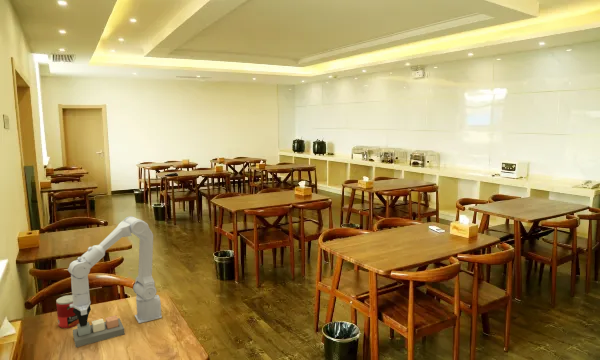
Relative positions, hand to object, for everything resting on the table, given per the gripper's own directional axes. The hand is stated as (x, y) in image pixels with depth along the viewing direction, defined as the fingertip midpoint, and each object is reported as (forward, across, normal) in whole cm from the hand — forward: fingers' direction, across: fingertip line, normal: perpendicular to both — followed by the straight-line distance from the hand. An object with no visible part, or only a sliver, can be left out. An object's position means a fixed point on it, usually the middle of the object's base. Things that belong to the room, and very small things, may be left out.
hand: (83, 325), depth 158 cm
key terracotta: (+3, 0, +10) cm, 10 cm away
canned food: (+6, -16, -4) cm, 18 cm away
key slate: (+3, 0, 0) cm, 3 cm away
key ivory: (+3, 0, +5) cm, 6 cm away
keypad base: (+6, 0, +5) cm, 7 cm away
